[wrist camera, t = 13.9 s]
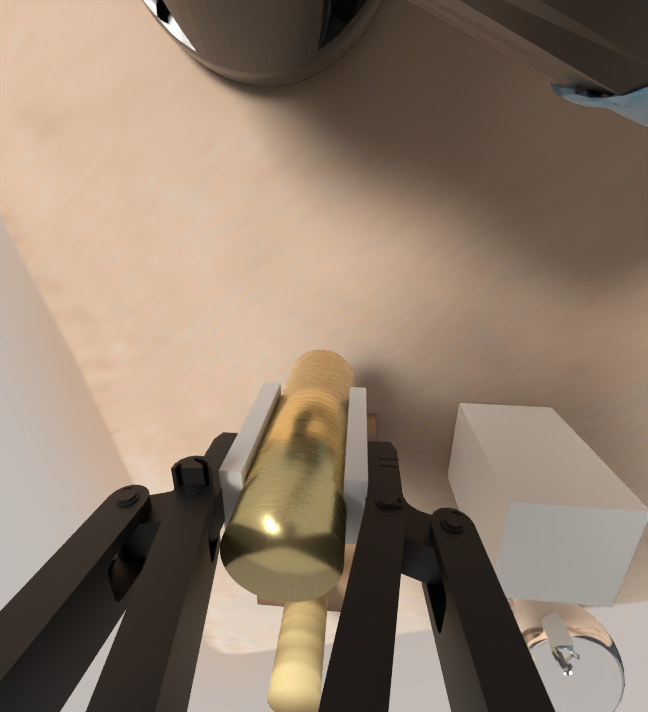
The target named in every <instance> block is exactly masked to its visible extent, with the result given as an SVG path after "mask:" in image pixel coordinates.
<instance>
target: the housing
mask: <svg viewBox="0 0 648 712" xmlns="http://www.w3.org/2000/svg"><path fill="white" fill-rule="evenodd" d="M447 476H448V479H449V482H450V485H451V488H452V491H453V494H454V497H455V500H456V503H457V506H458V509H459V511H461V512H463V513H464V514H466V515H467V516H468V517H470V519H471V520H472V521H473V523H474V524H475V527H476V529H477V531H478V534H479V536H480V538H481V541H482V543H483V545H484V548H485V550H486V552H487V554H488V557H489V559H490V561H491V564H492V566H493V568H494V571H495V573H496V575H497V578H498V580H499V582H500V584H501V587H502V589H503V591H504V594H505V596H506V598H512V599H523V600H535V601H546V602H558V603H569V604H581V605H592V606H604V607H612V606H613V604H614V601H615V599H616V596H617V594H618V592H619V589H620V587H621V584H622V582H623V580H624V577H625V575H626V572H627V570H628V567H629V565H630V563H631V560H632V558H633V555H634V553H635V551H636V548H637V546H638V543H639V541H640V539H641V536H642V534H643V531H644V529H645V526H646V524H647V522H648V508H647V507H646V506H645V505H644V504H643V502H642V501H641V500H640V499H639V498H638V497H637V496H636V495H635V494H634V493H633V492H632V491H631V490H630V489H629V488H628V487H627V486H626V485H625V484H624V483H623V482H622V481H621V480H620V478H619V477H618V476H617V475H616V474H615V473H614V472H613V471H612V470H611V469H610V468H609V467H608V466H607V465H606V464H605V463H604V462H603V461H602V460H601V459H600V458H599V457H598V455H597V454H596V453H595V452H594V451H593V450H592V449H591V448H590V447H589V446H588V445H587V444H586V443H585V442H584V441H583V440H582V439H581V438H580V437H579V436H578V435H577V434H576V432H575V431H574V430H573V429H572V428H571V427H570V426H569V425H568V424H567V423H566V422H565V421H564V420H563V419H562V418H561V417H560V416H559V415H558V414H557V413H556V412H555V411H554V410H553V408H552V407H535V406H516V405H497V404H478V403H459V407H458V413H457V419H456V425H455V431H454V437H453V444H452V450H451V456H450V462H449V468H448V474H447Z"/></svg>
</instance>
